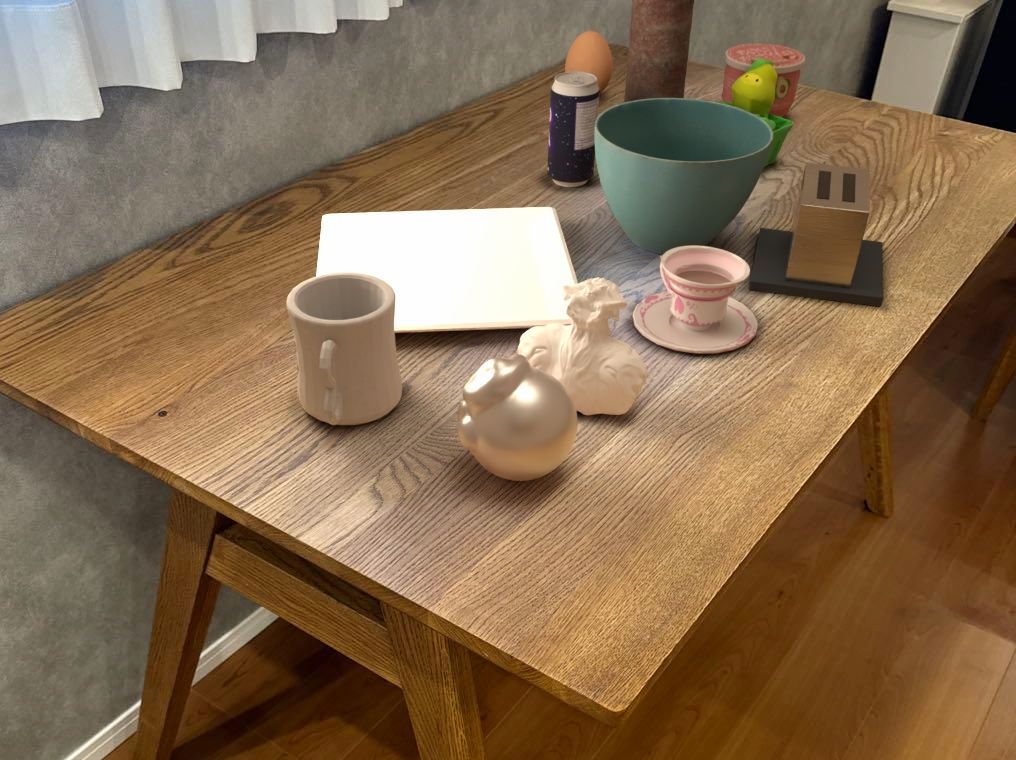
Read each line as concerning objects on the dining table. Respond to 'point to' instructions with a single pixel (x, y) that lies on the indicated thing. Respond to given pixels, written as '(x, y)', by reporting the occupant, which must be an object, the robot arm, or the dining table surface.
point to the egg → (591, 57)
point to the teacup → (697, 302)
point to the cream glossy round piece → (516, 419)
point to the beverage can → (572, 128)
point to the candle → (658, 49)
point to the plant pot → (678, 167)
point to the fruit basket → (761, 101)
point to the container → (784, 65)
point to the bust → (588, 351)
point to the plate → (457, 265)
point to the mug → (345, 347)
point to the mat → (772, 279)
